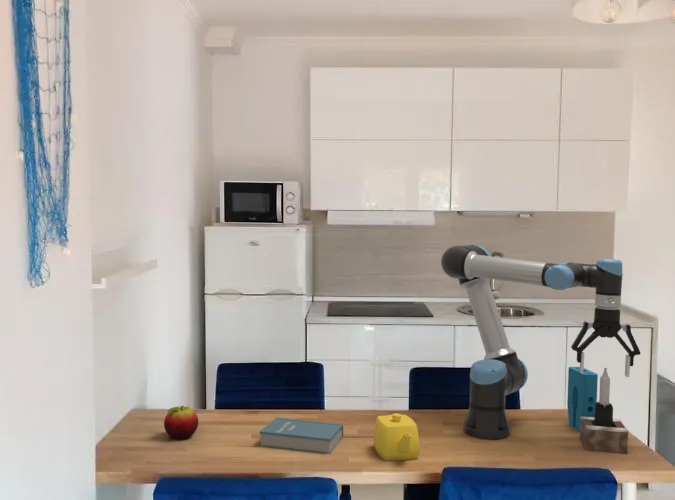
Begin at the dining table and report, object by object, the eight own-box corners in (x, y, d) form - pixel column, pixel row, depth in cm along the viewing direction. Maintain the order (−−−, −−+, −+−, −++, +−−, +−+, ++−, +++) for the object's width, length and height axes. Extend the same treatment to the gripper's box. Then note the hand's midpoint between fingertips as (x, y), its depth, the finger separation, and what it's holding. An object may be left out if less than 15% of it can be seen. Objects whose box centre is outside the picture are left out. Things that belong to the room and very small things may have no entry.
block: (596, 433, 219) (598, 374, 218) (582, 433, 218) (584, 374, 217) (579, 422, 231) (580, 366, 230) (565, 422, 230) (567, 366, 229)
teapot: (427, 464, 188) (428, 424, 187) (386, 467, 185) (387, 426, 185) (406, 441, 208) (407, 405, 207) (368, 443, 205) (369, 406, 204)
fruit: (205, 436, 209) (205, 405, 208) (175, 444, 201) (176, 412, 201) (185, 428, 216) (186, 399, 216) (157, 436, 208) (157, 405, 208)
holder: (585, 450, 202) (586, 427, 202) (579, 437, 214) (580, 416, 214) (627, 453, 200) (628, 430, 200) (619, 440, 212) (619, 419, 211)
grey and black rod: (610, 443, 209) (613, 366, 208) (611, 449, 204) (615, 370, 203) (593, 441, 210) (596, 365, 209) (594, 447, 205) (597, 368, 204)
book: (259, 447, 201) (259, 431, 201) (277, 431, 217) (277, 416, 216) (329, 455, 195) (330, 439, 195) (343, 438, 211) (343, 423, 211)
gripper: (567, 307, 204) (564, 374, 205) (653, 311, 199) (649, 380, 200) (564, 304, 211) (561, 368, 213) (646, 308, 206) (643, 374, 207)
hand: (603, 374), depth 206 cm, fingers open, 13 cm apart
